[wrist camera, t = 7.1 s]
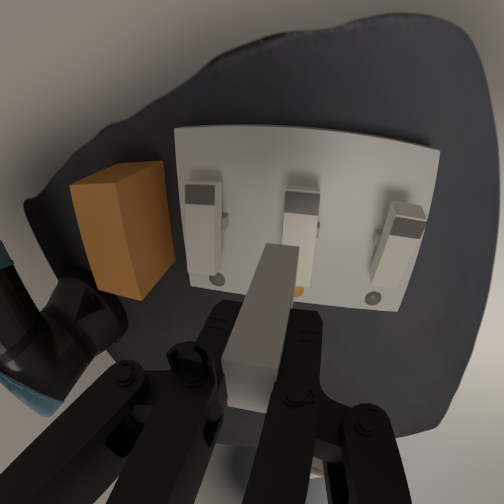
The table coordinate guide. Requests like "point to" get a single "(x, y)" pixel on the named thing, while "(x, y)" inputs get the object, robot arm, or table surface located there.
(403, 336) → the table surface
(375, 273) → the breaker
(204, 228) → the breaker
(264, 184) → the panel
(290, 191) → the block
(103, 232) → the brown block
